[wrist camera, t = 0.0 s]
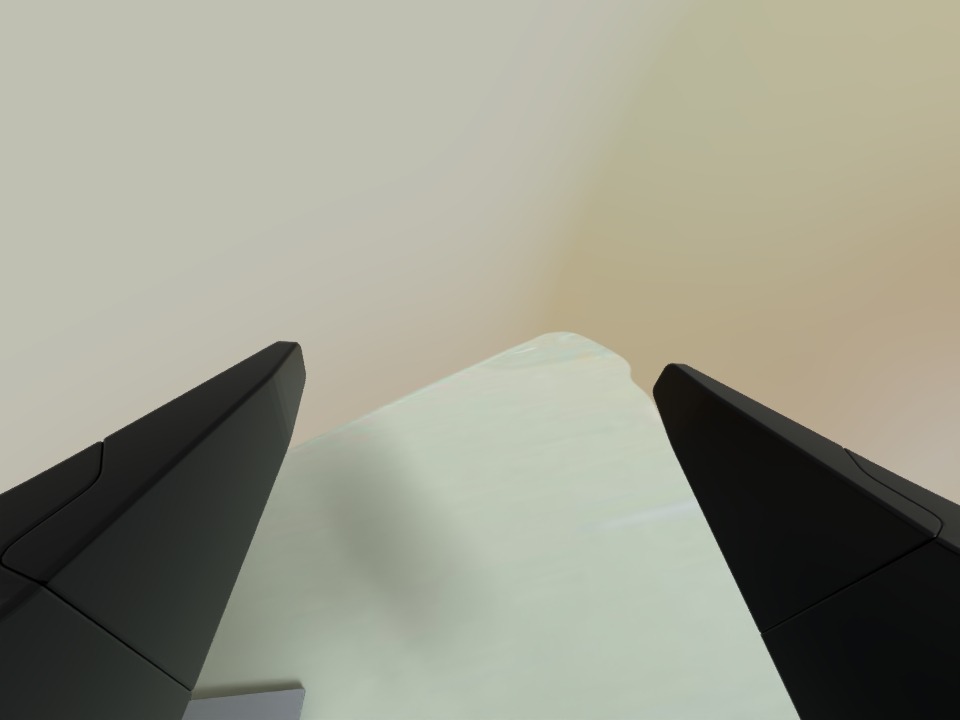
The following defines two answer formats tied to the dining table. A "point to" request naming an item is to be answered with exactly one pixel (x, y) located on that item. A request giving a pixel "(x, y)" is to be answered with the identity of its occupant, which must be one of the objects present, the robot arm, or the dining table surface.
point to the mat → (248, 706)
